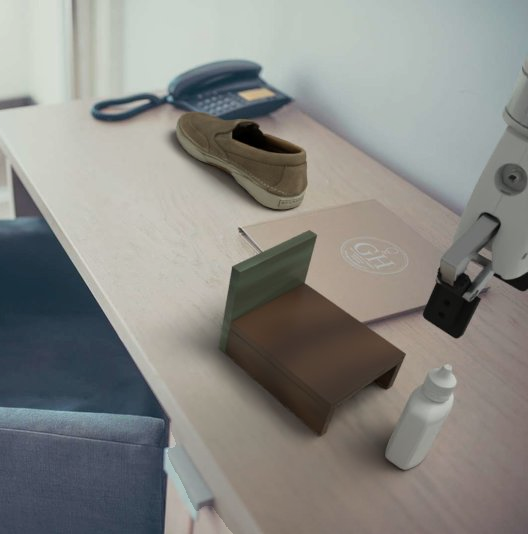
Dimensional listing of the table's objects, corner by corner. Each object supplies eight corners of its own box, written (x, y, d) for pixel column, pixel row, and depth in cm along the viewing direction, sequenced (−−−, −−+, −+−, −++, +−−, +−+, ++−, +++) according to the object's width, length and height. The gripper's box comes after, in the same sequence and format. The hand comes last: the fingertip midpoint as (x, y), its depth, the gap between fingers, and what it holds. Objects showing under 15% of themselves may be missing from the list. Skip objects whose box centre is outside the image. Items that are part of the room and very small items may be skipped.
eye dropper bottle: (444, 462, 63) (491, 380, 55) (394, 474, 62) (435, 391, 54) (418, 427, 66) (459, 344, 59) (370, 437, 65) (405, 354, 57)
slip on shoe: (164, 134, 116) (167, 87, 110) (217, 124, 120) (223, 78, 114) (257, 220, 95) (267, 166, 90) (318, 204, 99) (331, 152, 94)
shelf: (392, 385, 70) (427, 303, 63) (319, 437, 65) (348, 353, 57) (289, 308, 80) (309, 229, 72) (218, 347, 74) (231, 266, 67)
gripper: (567, 168, 35) (457, 378, 46) (692, 97, 43) (573, 289, 54) (445, 116, 40) (371, 318, 50) (578, 61, 48) (490, 245, 59)
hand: (476, 303), depth 52 cm, fingers open, 9 cm apart
